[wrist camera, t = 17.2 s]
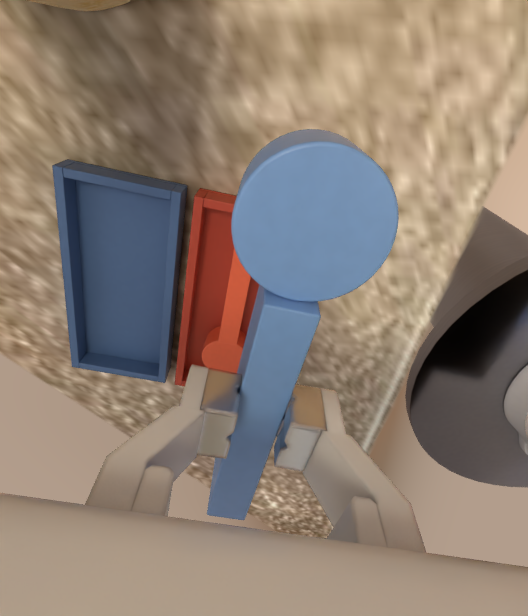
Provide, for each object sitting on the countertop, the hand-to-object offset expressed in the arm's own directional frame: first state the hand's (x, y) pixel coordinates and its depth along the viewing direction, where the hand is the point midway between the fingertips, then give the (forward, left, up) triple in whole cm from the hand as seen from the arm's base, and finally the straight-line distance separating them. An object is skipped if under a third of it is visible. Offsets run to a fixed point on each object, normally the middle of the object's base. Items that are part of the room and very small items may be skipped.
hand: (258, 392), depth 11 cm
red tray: (+1, +7, -17) cm, 18 cm away
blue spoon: (0, -1, -2) cm, 2 cm away
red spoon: (+1, +7, -16) cm, 18 cm away
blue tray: (+10, +7, -17) cm, 20 cm away
